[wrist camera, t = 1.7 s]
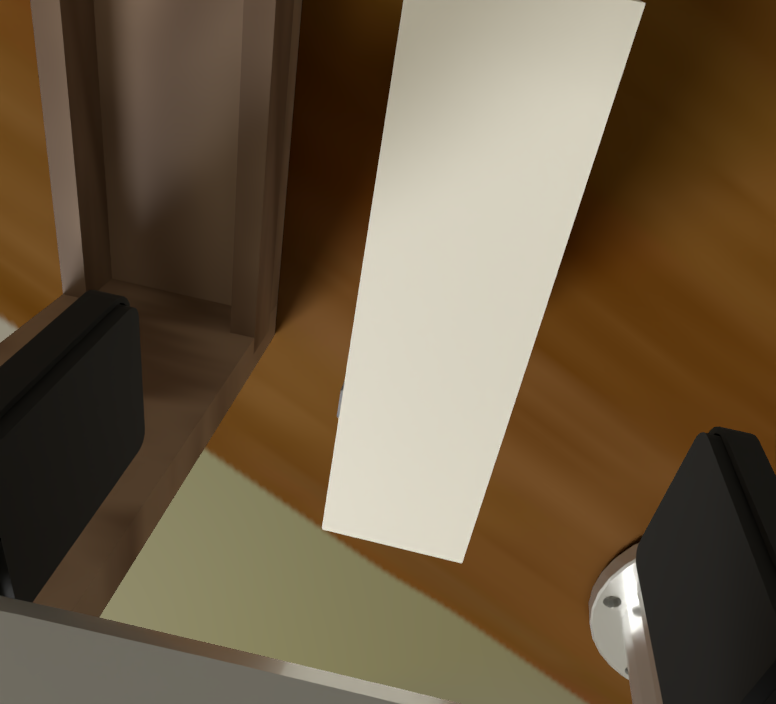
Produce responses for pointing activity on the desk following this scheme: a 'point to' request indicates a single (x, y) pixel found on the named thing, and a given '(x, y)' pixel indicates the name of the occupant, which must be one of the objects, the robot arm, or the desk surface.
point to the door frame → (165, 223)
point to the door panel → (465, 251)
